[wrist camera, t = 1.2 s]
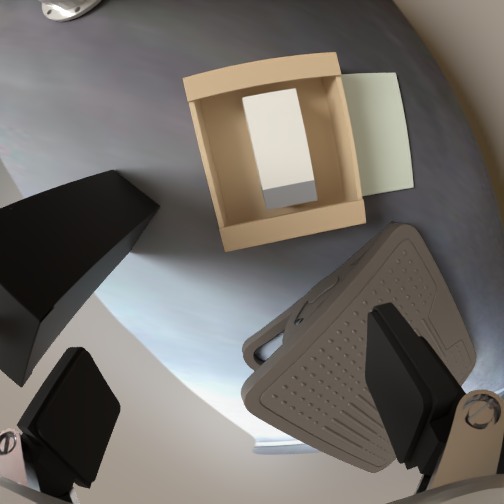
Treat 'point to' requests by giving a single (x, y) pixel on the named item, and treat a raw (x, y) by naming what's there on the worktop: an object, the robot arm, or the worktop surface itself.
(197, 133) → the carton
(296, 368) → the foot rest
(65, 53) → the worktop surface
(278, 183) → the capped box
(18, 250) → the tissue box
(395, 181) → the mat
